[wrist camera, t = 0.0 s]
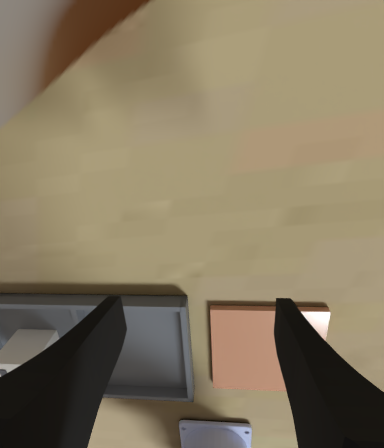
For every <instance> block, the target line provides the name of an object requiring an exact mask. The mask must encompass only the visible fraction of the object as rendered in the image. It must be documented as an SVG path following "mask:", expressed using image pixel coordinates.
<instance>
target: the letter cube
mask: <svg viewBox="0 0 384 448" xmlns="http://www.w3.org/2000/svg"><path fill="white" fill-rule="evenodd" d="M58 339H59V336H58V333H57V330H38V329H18V330H17V331H16V332H15V333H14V335H13V336H12V337H11V338H10V339H9V341H8V342H7V343H6V344H5V345H4V346H3V348H2V349H1V350H0V377H1V376H3V375H5V374H6V373H8V372H10V371H12V370H13V369H15V368H17V367H18V366H20V365H22V364H23V363H25V362H27V361H28V360H30V359H31V358H33V357H35V356H36V355H38V354H39V353H41V352H42V351H43V350H45V349H46V348H48V347H49V346H50V345H52V344H53V343H55V342H56V341H57V340H58Z"/></svg>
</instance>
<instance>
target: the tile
mask: <svg viewBox="0 0 384 448" xmlns="http://www.w3.org/2000/svg"><path fill="white" fill-rule="evenodd" d="M275 309H276V306H223V305H210V316H211V342H212V368H213V388H225V389H247V390H268V391H286V387H285V383H284V380H283V376H282V372H281V368H280V365H279V361H278V357H277V352H276V346H275V339H274V322H275ZM298 309H299V310H300V311H301V313H302V314H303V315H304V316H305V318H306V319H307V320H308V322H309V323H310V324H311V325H312V326H313V327H314V329H315V330H316V331H317V332H318V333H319V334H320V336H321V337H322V338H323V339H324V340H325V341H326V335H327V329H328V324H329V318H330V313H331V312H330V310H329V308H328V307H298Z"/></svg>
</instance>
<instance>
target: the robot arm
mask: <svg viewBox="0 0 384 448" xmlns="http://www.w3.org/2000/svg"><path fill="white" fill-rule="evenodd" d="M126 332H127V325H126V320H125V315H124V310H123V305H122V300H121V296H108V297H107V298H106V299H104V300H103V301H102V302H101V303H100V304H99V305H98V306H97V307H96V308H95V309H94V310H92V311H91V312H90V313H89V314H88V315H87V316H86V317H85V318H84V319H82V320H81V321H80V322H79V323H78V324H77V325H76V326H74V327H73V328H72V329H71V330H69V331H68V332H67V333H66V334H65V335H63V336H62V337H61V338H60V339H58V340H57V341H56V342H55V343H53V344H52V345H50V346H49V347H48V348H46V349H45V350H43V351H42V352H41V353H39V354H38V355H36V356H35V357H33V358H31V359H30V360H28V361H27V362H25V363H23V364H22V365H20V366H18V367H17V368H15V369H13V370H12V371H10V372H8V373H6V374H5V375H3V376H1V377H0V448H87V447H88V443H89V439H90V436H91V432H92V429H93V425H94V422H95V419H96V416H97V412H98V409H99V406H100V403H101V400H102V397H103V395H104V392H105V390H106V387H107V385H108V383H109V380H110V378H111V375H112V373H113V370H114V368H115V365H116V363H117V360H118V358H119V355H120V353H121V350H122V347H123V343H124V340H125V336H126ZM274 339H275V346H276V352H277V357H278V361H279V365H280V368H281V372H282V376H283V380H284V383H285V387H286V391H287V394H288V398H289V402H290V405H291V410H292V414H293V419H294V425H295V430H296V436H297V442H298V448H384V392H383V391H381V390H380V389H379V388H377V387H376V386H375V385H373V384H372V383H371V382H370V381H368V380H367V379H366V378H365V377H363V376H362V375H361V374H360V373H358V372H357V371H356V370H355V369H354V368H352V367H351V366H350V365H349V364H348V363H347V362H346V361H345V360H344V359H343V358H342V357H341V356H340V355H339V354H337V353H336V352H335V351H334V349H333V348H332V347H331V346H330V345H329V344H328V343H327V342H326V341H325V340H324V339H323V338H322V337H321V336H320V334H319V333H318V332H317V331H316V330H315V329H314V327H313V326H312V325H311V324H310V323H309V322H308V320H307V319H306V318H305V316H304V315H303V314H302V313H301V311H300V310H299V309H298V307H297V306H296V305H295V303H294V302H293V301H292V300H291V299H290V298H276V309H275V322H274ZM179 430H180V439H181V447H182V448H251V433H252V428H251V425H250V424H246V423H229V422H212V421H195V420H180V421H179Z"/></svg>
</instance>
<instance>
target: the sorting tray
mask: <svg viewBox="0 0 384 448" xmlns="http://www.w3.org/2000/svg"><path fill="white" fill-rule="evenodd" d="M108 296H121V300H122V305H123V310H124V315H125V320H126V325H127V332H126V336H125V340H124V343H123V347H122V350H121V353H120V355H119V358H118V360H117V363H116V365H115V368H114V370H113V373H112V375H111V378H110V380H109V383H108V385H107V387H106V390H105V392H104V395H103V397H106V398H125V399H144V400H164V401H183V402H193V400H194V389H195V388H194V375H193V362H192V349H191V336H190V323H189V310H188V297H187V296H158V295H83V294H9V293H0V350H1V349H2V348H3V346H4V345H5V344H6V343H7V342H8V341H9V339H10V338H11V337H12V336H13V335H14V333H15V332H16V331H17V330H18V329H38V330H57V333H58V336H59V339H60V338H61V337H62V336H63V335H65V334H66V333H67V332H68V331H69V330H71V329H72V328H73V327H74V326H76V325H77V324H78V323H79V322H80V321H81V320H82V319H84V318H85V317H86V316H87V315H88V314H89V313H90V312H91V311H92V310H94V309H95V308H96V307H97V306H98V305H99V304H100V303H101V302H102V301H103V300H104V299H106V298H107V297H108Z"/></svg>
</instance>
